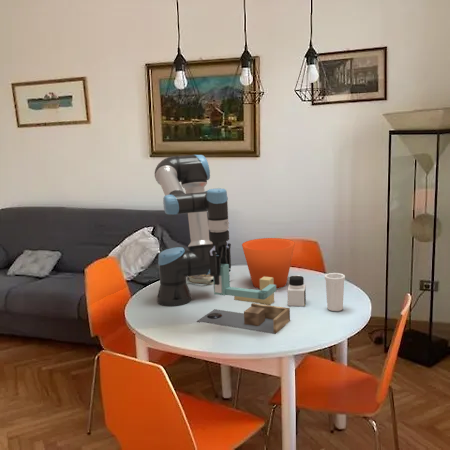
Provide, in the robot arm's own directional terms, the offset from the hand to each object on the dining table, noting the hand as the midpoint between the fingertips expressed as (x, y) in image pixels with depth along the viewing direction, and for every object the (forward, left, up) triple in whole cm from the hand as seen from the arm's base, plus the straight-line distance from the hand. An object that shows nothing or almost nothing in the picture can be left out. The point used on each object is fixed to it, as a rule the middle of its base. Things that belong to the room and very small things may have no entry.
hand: (221, 290), depth 202 cm
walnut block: (+10, +7, -14) cm, 19 cm away
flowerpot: (-5, +55, -15) cm, 57 cm away
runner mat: (+5, +7, -14) cm, 17 cm away
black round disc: (-8, +7, -14) cm, 18 cm away
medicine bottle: (+17, +34, -15) cm, 41 cm away
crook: (+8, +4, -1) cm, 9 cm away
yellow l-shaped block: (-2, +30, -14) cm, 33 cm away
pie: (-39, +54, -15) cm, 68 cm away
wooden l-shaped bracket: (+14, +7, -14) cm, 21 cm away
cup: (+34, +33, -15) cm, 50 cm away
